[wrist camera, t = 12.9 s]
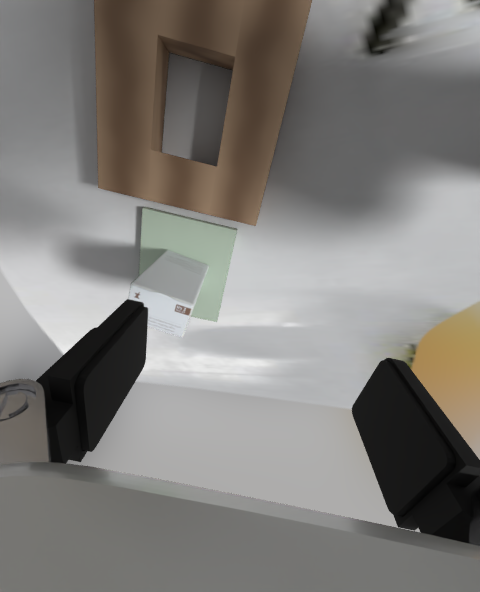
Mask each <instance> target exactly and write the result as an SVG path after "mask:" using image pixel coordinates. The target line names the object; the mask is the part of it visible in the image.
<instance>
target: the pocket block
mask: <svg viewBox="0 0 480 592" xmlns="http://www.w3.org/2000/svg"><path fill="white" fill-rule="evenodd" d="M311 3H312V0H94V16H95V61H96V107H97V152H98V188H100V189H104V190H108V191H113V192H117V193H121V194H125V195H129V196H133V197H137V198H142V199H146V200H150V201H154V202H158V203H162V204H167V205H171V206H175V207H179V208H183V209H187V210H191V211H196V212H200V213H204V214H208V215H212V216H216V217H220V218H225V219H229V220H233V221H237V222H241V223H245V224H250V225H254V226H256V223H257V219H258V215H259V211H260V207H261V203H262V199H263V195H264V191H265V187H266V183H267V179H268V175H269V171H270V167H271V163H272V159H273V155H274V151H275V147H276V143H277V139H278V135H279V131H280V127H281V123H282V119H283V115H284V111H285V107H286V103H287V99H288V95H289V91H290V87H291V83H292V79H293V75H294V71H295V67H296V63H297V59H298V55H299V51H300V47H301V43H302V39H303V35H304V31H305V27H306V23H307V19H308V15H309V11H310V7H311ZM169 52H170V53H173V54H177V55H180V56H184V57H188V58H191V59H195V60H198V61H202V62H205V63H209V64H212V65H216V66H220V67H223V68H227V69H230V70H233V73H232V79H231V85H230V91H229V97H228V103H227V109H226V115H225V121H224V127H223V133H222V139H221V145H220V151H219V157H218V163H217V167H216V166H212V165H209V164H205V163H201V162H197V161H193V160H189V159H185V158H181V157H177V156H173V155H169V154H165V153H162V140H163V127H164V114H165V101H166V88H167V75H168V62H169Z"/></svg>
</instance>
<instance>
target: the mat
mask: <svg viewBox="0 0 480 592" xmlns="http://www.w3.org/2000/svg"><path fill="white" fill-rule="evenodd" d="M236 233H237V229H235V228H231V227H227V226H223V225H219V224H215V223H210V222H206V221H202V220H198V219H194V218H189V217H185V216H181V215H177V214H173V213H168V212H164V211H160V210H156V209H152V208H148V207H144V208H142V225H141V244H140V264H139V276H140V275H141V274H142V273H143V272H144V271H145V270H146V269H147V268H148V267H149V266H150V265H151V264H153V263H154V262H155V261H156V260H157V259H158V258H159V257H160V256H161V255H162V254H163V253H164V252H166V251H167V250H170V251H172V252H175V253H177V254H180V255H183V256H185V257H188V258H191V259H193V260H196V261H199V262H201V263H204V264H207V265H208V266H209V268H208V270H207V273H206V276H205V278H204V281H203V284H202V287H201V290H200V292H199V295H198V298H197V301H196V303H195V306H194V309H193V311H192V314H191V317H196V318H200V319H205V320H210V321H214V322H217V319H218V315H219V310H220V306H221V301H222V297H223V292H224V288H225V283H226V279H227V274H228V269H229V265H230V260H231V256H232V251H233V247H234V242H235V238H236Z"/></svg>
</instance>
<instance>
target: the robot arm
mask: <svg viewBox="0 0 480 592" xmlns="http://www.w3.org/2000/svg"><path fill="white" fill-rule="evenodd" d="M147 324H148V308H147V307H144V303H143V302H139V301H134V300H130V299H127V300H126V301H125V302H124V303H123V304H122V305H121V306H120V307H119V308H117V309H116V310H115V311H114V312H113V313H112V314H111V315H110V316H109V317H108V318H107V319H106V320H105V321H104V322H103V323H102V324H101V325H100V326H99V327H98V328H93V329H92V330H90V331H89V332H88V333H87V334H86V335H85V336H84V337H83V338H82V339H80V340H79V341H78V342H77V343H76V344H75V345H74V346H73V347H72V348H71V349H70V350H69V351H68V352H66V353H65V354H64V355H63V356H62V357H61V358H60V359H59V360H58V361H57V362H56V363H55V364H54V365H52V367H50V368H49V369H48V370H47V371H46V372H45V373H44V374H43V375H42V376H41V377H40V378H38V379H37V380H36V381H33V380H30V379H16V380H9V381H6V382H2V383H0V592H480V460H479V459H478V457H477V456H476V455H475V453H474V452H473V451H472V449H471V448H470V447H469V445H468V444H467V443H466V441H465V440H464V439H463V438H462V436H461V435H460V434H459V432H458V431H457V430H456V428H455V427H454V426H453V424H452V423H451V422H450V420H449V419H448V418H447V417H446V415H445V414H444V412H443V411H442V410H441V409H440V407H439V406H438V405H437V403H436V402H435V401H434V399H433V398H432V397H431V395H430V394H429V393H428V391H427V390H426V389H425V387H424V386H423V385H422V384H421V382H420V381H419V380H418V378H417V377H416V376H415V374H414V373H413V372H412V370H411V369H410V368H409V366H408V365H407V364H406V363H405V362H404V361H401V360H396V359H392V358H386V359H385V360H383V361H381V362H380V363H379V364H378V366H377V368H376V369H375V371H374V372H373V374H372V376H371V377H370V379H369V380H368V382H367V384H366V385H365V387H364V389H363V390H362V392H361V393H360V395H359V397H358V398H357V400H356V401H355V403H354V405H353V407H352V414H353V417H354V420H355V423H356V425H357V428H358V431H359V433H360V436H361V439H362V441H363V443H364V446H365V449H366V452H367V454H368V457H369V460H370V462H371V465H372V468H373V470H374V473H375V476H376V478H377V481H378V484H379V486H380V489H381V491H382V494H383V497H384V499H385V502H386V505H387V507H388V509H389V511H390V512H391V513H392V514H393V515H394V518H395V520H396V523H397V525H398V527H400V528H396V527H391V526H386V525H382V524H377V523H372V522H367V521H363V520H358V519H353V518H349V517H344V516H339V515H334V514H329V513H324V512H320V511H315V510H310V509H305V508H300V507H295V506H290V505H285V504H281V503H276V502H271V501H266V500H261V499H256V498H251V497H246V496H241V495H236V494H231V493H226V492H221V491H216V490H211V489H206V488H201V487H196V486H191V485H186V484H181V483H176V482H171V481H165V480H161V479H156V478H151V477H146V476H140V475H134V474H129V473H122V472H118V471H112V470H106V469H101V468H95V467H89V466H81V465H73V464H66V463H67V461H68V460H73V461H78V462H81V460H82V459H83V457H84V456H85V454H86V452H87V451H90V452H92V451H93V450H94V449H95V447H96V446H97V444H98V443H99V441H100V439H101V437H102V436H103V434H104V433H105V431H106V429H107V427H108V426H109V424H110V422H111V421H112V419H113V418H114V416H115V414H116V412H117V411H118V409H119V407H120V406H121V404H122V402H123V401H124V399H125V397H126V396H127V394H128V392H129V391H130V389H131V388H132V386H133V384H134V383H135V381H136V379H137V378H138V376H139V374H140V373H141V371H142V369H143V367H144V364H145V360H146V342H147ZM418 527H419V529H420V532H421V533H420V532H415V531H410V530H416V529H417V528H418ZM401 528H405V529H410V530H405V529H401Z"/></svg>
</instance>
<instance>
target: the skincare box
mask: <svg viewBox="0 0 480 592" xmlns="http://www.w3.org/2000/svg"><path fill="white" fill-rule="evenodd" d="M208 268H209V266H208V265H207V264H204V263H201V262H199V261H196V260H193V259H191V258H188V257H185V256H183V255H180V254H177V253H175V252H172V251H170V250H167V251H166V252H164V253H163V254H162V255H161V256H160V257H159V258H158V259H157V260H156V261H155V262H154V263H153V264H151V265H150V266H149V267H148V268H147V269H146V270H145V271H144V272H143V273H142V274H141V275H140V276H139V277H138V278H137V279H136V280H135V281H133V282H132V283H131V288H130V292H129V297H128V299H130V300H134V301H139V302H143V303H144V307H147V308H148V324H147V327H150V328H153V329H156V330H159V331H162V332H165V333H169V334H172V335H175V336H178V337H181V338H182V337H183V336H184V333H185V330H186V328H187V325H188V322H189V319H190V317H191V314H192V311H193V309H194V306H195V303H196V301H197V298H198V295H199V292H200V290H201V287H202V284H203V281H204V278H205V276H206V273H207V270H208Z"/></svg>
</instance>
